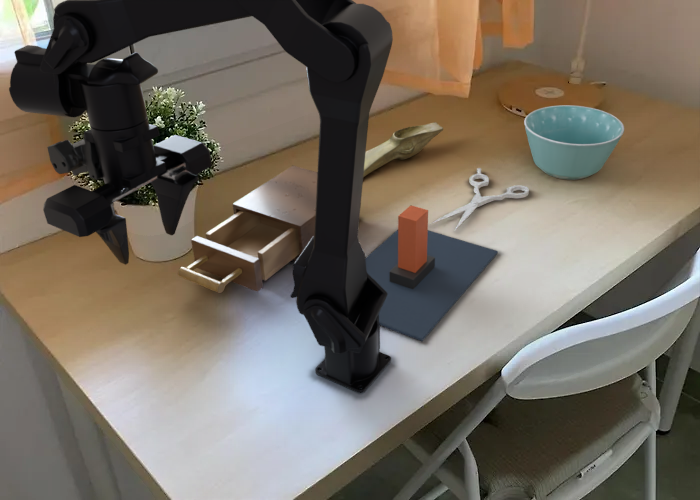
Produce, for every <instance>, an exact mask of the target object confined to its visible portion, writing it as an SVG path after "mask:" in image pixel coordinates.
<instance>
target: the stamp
mask: <svg viewBox="0 0 700 500" xmlns="http://www.w3.org/2000/svg"><path fill="white" fill-rule="evenodd" d="M397 224H398V225H397V230H398V264H397V265H396V266H395V267H394V268H393V269H392V270H391V271H390V272H389V280H390V282H393V283H396V284H399V285H402V286H404V287H407V288H410V289H414V288H415V287H416V286H417V285H418V284H419V283H420V282H421V281H422V280H423V279H424V278H425V277H426V276H427V274H428V273H429V272H430V271H431V270H432V269H433V268H434V267H435V257H432V256H429V255H427V236H428V230H429V210H428V209H425V208H423V207H418V206H414V205H411V204H410V205H409V206H408V207H407V208H405V210H403V211H402V212H401V213H400V214H399V215H398V216H397Z"/></svg>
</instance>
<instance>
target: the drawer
mask: <svg viewBox="0 0 700 500" xmlns="http://www.w3.org/2000/svg"><path fill="white" fill-rule="evenodd" d="M190 243H191V247H192V253H193V258H194V262H192V263H191V264H189V265H188V266H181V267H179V268H178V270H177V276H178V277H179V278H181V279H184V280H186V281H188V282H192V283H193V284H197V285H198V286H201V287H203V288H206V289H208V290H210V291H213V292H216V293H218V294H222V293H223V292H224V291H225V288H226V286H227V285H228V284H230V283H231V282H232V283H234V284H236V285H239V286H242V287H243V288H244V287H245V288H246V289H249V290H252V291H254V292H256V293H259V292H260V291H262V290H263V288H264V283H263V281H265V282H266V281H268V279H270V278H271V277H272V276H274V274H276V273H277V272H279V271H280V270H281V269H283V268H284V267H285V266H286V265H287V264H289V263H290V262H291V261H293V260H292V259H294V258H295V257H296V256H297V255H299V254H300V250H299V239H298V229H297V228H294V227H291V226H288V225H285V224H282V223H279V222H276V221H273V220H269V219H266V218H263V217H260V216H257V215H254V214H251V213H248V212H245V211H242V210H240V211H239V212H237V213H236V214H234V213H233V215H231V216H229V217H228V218H227V219H225V220H224V221H222V222H221V223H219V224H218V225H216V226H214V227H213V228H211V229H210V230H208V231H207V232H206V233H205V238H204V237H202V236H199V235H196V236H194V237H193V238H191V239H190ZM196 269H199V270H201V271H203V272H206V273H209V274H212V275H214V276H216V277H218V278H221V279H222V280H218V279H216V278H214V277H211V276H209V275H206V274H203V273H201V272H199V271H196Z"/></svg>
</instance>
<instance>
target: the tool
mask: <svg viewBox="0 0 700 500" xmlns="http://www.w3.org/2000/svg"><path fill="white" fill-rule="evenodd" d="M443 131H444V127H443V126H441V125H440V124H439V123H438V122H436V121H435V122H430V123H427V124H422V125H413V126H407V127H403V128H400V129H398V130H396V131H394V132H393V133H392V135H391V136H390V138H389V139H387V140H386V141H385V142H383V143H380V144H379V145H377V146H374V147H372V148H370V149H368V150H366V153H365V163H364V174H363V178H364V177H366V176H367V175H369V174H370V173H373V172H374V171H376V170H377V169H379V168H380V167H382V166H384V165H386V164H388V163H389V162H391V161H393V160H395V159H396V160H399V161H400V160H401V161H404V160H408V159H409V158H412V157H414V156H415V155H417V154H418V153H420V152H421V151H422V150H424V148H425V147H426V146H428V144H429V143H430V142H431V141H432V140H433V139H434V138H435V137H437V136H438V135H439V134H441V133H442V132H443Z"/></svg>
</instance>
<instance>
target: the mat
mask: <svg viewBox="0 0 700 500" xmlns="http://www.w3.org/2000/svg"><path fill="white" fill-rule="evenodd" d="M498 252H499V251H498V250H496V249H493V248H489V247H486V246H482V245H479V244H476V243H472V242H469V241H465V240H461V239H458V238H457V237H456V238H455V237H453V236H449V235H445V234H442V233H439V232H435V231H431V230H429V229H428V236H427V255H429V256H432V257H435V267H434V268H433V269H432V270H431V271H430V272H429V273H428V274H427V276H426V277H425V278H424V279H423V280H422V281H421V282H420V283H419V284H418V285H417V286H416V287H415V288H414V289H410V288H407V287H404V286H402V285H399V284H396V283H393V282H390V280H389V272H390V271H391V270H392V269H393V268H394V267H395V266H396V265H397V264H398V229H397V230H395V231H394V232H393V233H392V234H390V236H388V238H386V239H385V240H384V241H383V242H382V243H381V244H380V245H378V246H377V247H376V248H375V249H374V250H373V251H372V252H371V253H369V255H367V256H365V261H366V271H367V273H368V274H369V275H370V276H371V277H372V278H373V279H374V280H375V281H376V282H377V283H378V284H379V285H380V286H381V287H382V288H383V289H384V290H385V291H386V292H387V294H388V295H387V297H386V299H385V301H384V304H383V306H382V308H381V310H380V312H379V323H380V327H381V326H382V327H384V328H387V329H389V330H392V331H394V332H396V333H399V334H401V335H405V336H407V337H410V338H413V339H415V340H417V341H421V342H423V341H424V340H425V339H426V338H427V337H428V335H429V334H430V333H431V332H432V331H433V329H434V328H435V327H436V326H437V325H438V324H439V322H440V321H441V320H442V319H443V318H444V317H445V316H446V314H447V313H448V312H449V311H450V310H451V309H452V307H453V306H454V305H455V304H456V302H458V301H459V299H460V298H461V297H462V296H463V294H465V292H466V291H467V290H468V289H469V288H470V286H471V285H472V284H473V283H474V282H475V281H476V279H477V278H478V277H479V276H480V274H482V272H483V271H485V269H486V268H487V267H488V265H489V264H490V263H491V262H492V260H494V258H495V257H496V256H497V255H498Z"/></svg>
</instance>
